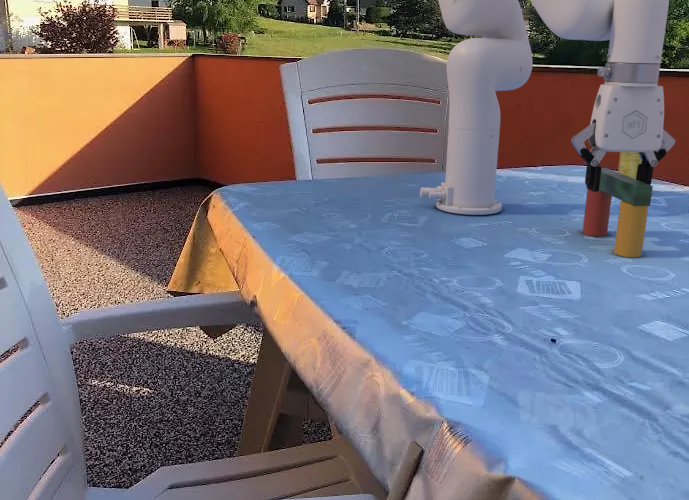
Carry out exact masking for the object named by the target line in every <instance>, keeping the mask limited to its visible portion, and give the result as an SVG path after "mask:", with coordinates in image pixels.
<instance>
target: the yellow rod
mask: <svg viewBox="0 0 689 500" xmlns="http://www.w3.org/2000/svg"><path fill="white" fill-rule="evenodd" d="M649 207H650V206H633V205H630V204H628V203H626V202H624V201H622V200H620V202H619V209H618V210H619V212H618V216H617V217H618V218H617V226H616V232H615V240H614V248H613V254H615V255H618V256H619V257H620V256H621V257H626V258H639V257H642V255H643V248H644V241H645V234H646V229H647V228H646V227H647V221H648V220H647V219H648V215H649Z"/></svg>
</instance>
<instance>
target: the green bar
mask: <svg viewBox="0 0 689 500" xmlns="http://www.w3.org/2000/svg"><path fill="white" fill-rule="evenodd" d="M653 187H654V186H653V185H652V184H651V185H649V184H646V183H644V182H641V181H638V180H636V179H633V178H631V177H628V176H626V175H623V174H620V173H618V171H615V170H613V169H610V168H607V167H601V177H600V186H599V190H600V191H603V192H605V193H607V194H609V195H611V196H612V198H615V199H618V200H620V201H624V202H626V203H628V204H630V205H633V206H649V207H650V206H651V202H652V201H651V200H652V194H653Z"/></svg>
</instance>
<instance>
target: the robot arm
mask: <svg viewBox="0 0 689 500" xmlns="http://www.w3.org/2000/svg"><path fill="white" fill-rule="evenodd" d="M437 1H438V5H439V9H440V14H441V17H442V20H443V23H444V25H445V27H446V29H447V30H448V31H450V33H453V34H456V35H460V36H461V35H462V36H481V37H471V38H466V39H463V40H462V41H460V42H458V43H457V44H456V45H454V46H453V48H452V49H451V51H450V52H449V54H448V57H447V59H446V60H447V61H446V80H447V87H448V99H449V100H448V101H449V104H448V105H449V107H448V108H449V110H448V129H447V130H448V131H447V147H446V150H447V151H446V161H445V178H444V179H445V180H444V181H443V182H440V183H441V184H440V185H437V186H436V187H420V189H419V196H420V198H429V199H430V200H435V199H436V200H435V207H436V208H437V209H438V210H440V211H443V212H447V213H451V214H457V215H464V216H465V215H466V216H486V215H493V214H497V213H500V212H501V211H502V209H503V204H502V202H501V201H499V200H496V199H495V196H496V194H495V193H496V182H497V170H498V169H497V168H498V158H499V146H500V145H499V144H500V135H501V134H500V131H501V108H500V103H499V100H498V97H497V92H503V91H504V92H505V91H513V90H516V89H520V88H521V87H523V86H524V85H525V84H526V83H527V82H528V80H529V78H530V77H531V75H532V70H533V64H534V63H533V53H532V48H531V45H530V40H529V36H528V32H527V27H526V23H525V19H524V15H523V11H522V7H521V4H520V1H519V0H437ZM529 1H530V3H531V5H532V6H533V8H534V9H535V11H536V13H537V15H539V18H540V19H541V20H542V22H543V23H544V24H545V25H546V27H547V28H548V29H549V30H550V32H552V33H553V34H555V36H557V37H559V38H560V39H564V40H570V41H592V42H603V41H609V43H608V51H607V59H606V62H605V66H603V67H600V66H599V67H598V69H597V76H598V77H602V78H603V81H604V83H601V84H600V86H599V88H598V91H597V94H596V96H595V100H594V103H593V108H592V112H591V117H590V124H589V125H587V126H586V127H585V128H583V129H582V130H581V131H579V132H578V133H576V134H575V135H573V137H571V139H570V142H571V144H572V146H573V147H574V148H575V150H576V152H577V154H578V155H579V156H580V158H581V159H582V161H583V162H584V163H585V164H586V169H585V178H584V183H585V186H586V190H587V189H589V190H591V191H593V192H597V191H599V186H600V177H601V168H602V166H600V163H601V161H602V160H603V158H605V155H606V154H607V153H608V152H609V153H620V152H638V154H639V156H640V158H641V161H642V163H641V164H639V165H638V167H637V175H636V180H638V181H641V182H644V183H646V184H649V185H651V186H652V181H653V174H654V173H653V172H654V167H657V166H658V163H659V162H660V161H661V160H662V159H663V158H665V156H666V155H667V153H668V152H669V151H670V150H671V149H672V148H673V147H674V146H675V145H676V141H677V140H676V138H674V137H673V136H671V134H670V133H668V132H667V131H666V130H665V129H664V125H665V124H664V123H665V122H664V121H665V94H664V86H662V85H659V76H660V70H661V61H662V57H663V56H662V54H663V48H664V42H665V34H666V27H667V21H668V13H669V5H670V0H529ZM587 140H588V144H589V146H591V148H590V150H589V149H588V148H587V146H586V144H585V142H587Z"/></svg>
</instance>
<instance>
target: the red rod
mask: <svg viewBox="0 0 689 500" xmlns="http://www.w3.org/2000/svg"><path fill="white" fill-rule="evenodd" d="M612 198H613V196H611V195H609V194H607V193H605V192H603V191H600V190H599V191H597V192H593V191H591V190H589V189H587V188H586V199H585V206H584V214H583V222H582V224H583V225H582V234H583V235H586V236H590V237H607V235H608V230H609V223H610V222H609V221H610V214H611V208H612V207H611V206H612Z"/></svg>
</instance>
